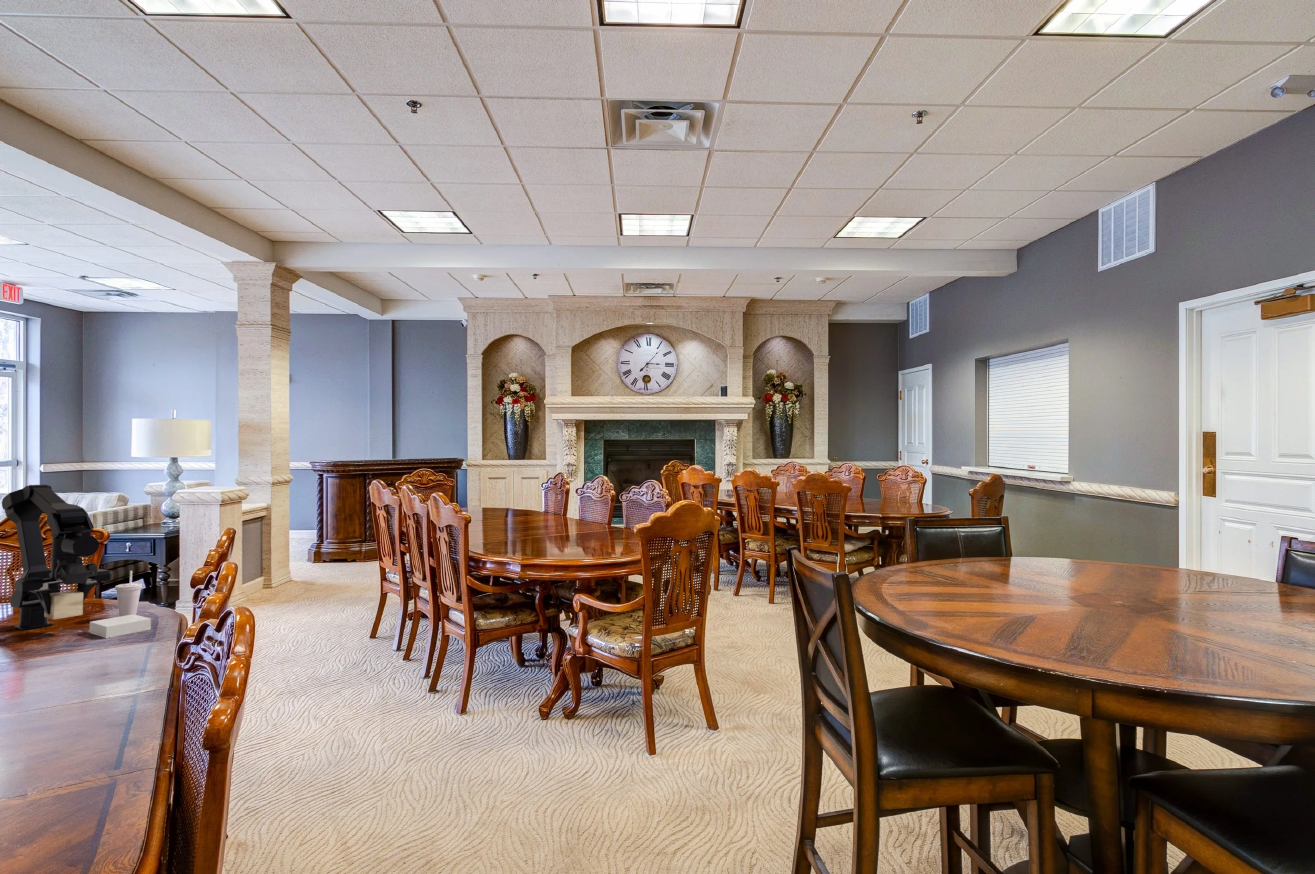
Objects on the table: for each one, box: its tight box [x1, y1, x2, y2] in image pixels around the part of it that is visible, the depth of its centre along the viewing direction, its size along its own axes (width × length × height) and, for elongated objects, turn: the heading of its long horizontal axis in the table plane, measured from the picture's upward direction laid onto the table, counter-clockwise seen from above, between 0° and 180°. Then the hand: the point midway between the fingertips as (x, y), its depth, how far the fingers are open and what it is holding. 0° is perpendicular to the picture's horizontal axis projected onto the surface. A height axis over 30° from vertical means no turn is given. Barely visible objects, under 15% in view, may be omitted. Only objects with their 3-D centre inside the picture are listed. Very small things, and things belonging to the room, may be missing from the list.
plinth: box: [89, 614, 152, 639], centre depth 175 cm, size 10×10×3 cm
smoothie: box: [114, 570, 143, 617], centre depth 190 cm, size 6×6×14 cm
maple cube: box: [44, 589, 84, 620], centre depth 172 cm, size 6×6×6 cm
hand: (63, 611), depth 172 cm, fingers closed on maple cube, 6 cm apart
